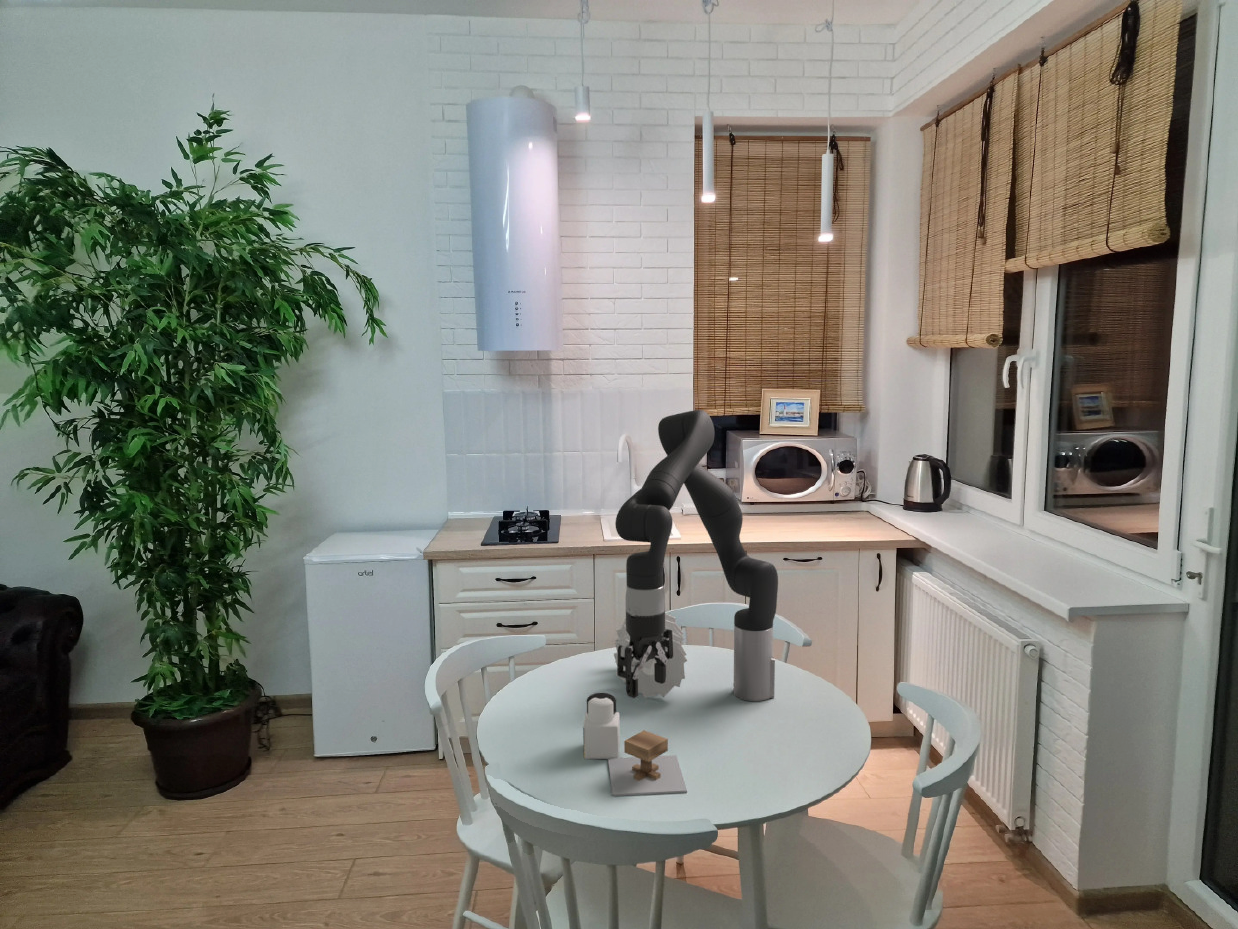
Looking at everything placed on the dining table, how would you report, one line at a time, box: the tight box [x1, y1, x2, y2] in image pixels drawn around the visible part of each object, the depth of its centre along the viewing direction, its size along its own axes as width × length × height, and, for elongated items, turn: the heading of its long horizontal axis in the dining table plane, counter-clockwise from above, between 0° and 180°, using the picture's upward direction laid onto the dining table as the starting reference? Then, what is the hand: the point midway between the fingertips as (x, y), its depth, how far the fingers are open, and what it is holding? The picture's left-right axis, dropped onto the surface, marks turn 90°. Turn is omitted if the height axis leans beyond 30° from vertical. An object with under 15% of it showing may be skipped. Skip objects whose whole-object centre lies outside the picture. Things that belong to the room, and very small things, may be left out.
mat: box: [607, 754, 688, 797], centre depth 163 cm, size 14×14×1 cm
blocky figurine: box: [582, 692, 621, 760], centre depth 173 cm, size 7×7×12 cm
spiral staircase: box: [613, 612, 688, 699], centre depth 208 cm, size 18×18×25 cm
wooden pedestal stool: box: [623, 730, 669, 781], centre depth 163 cm, size 6×6×7 cm
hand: (646, 689), depth 161 cm, fingers open, 8 cm apart
